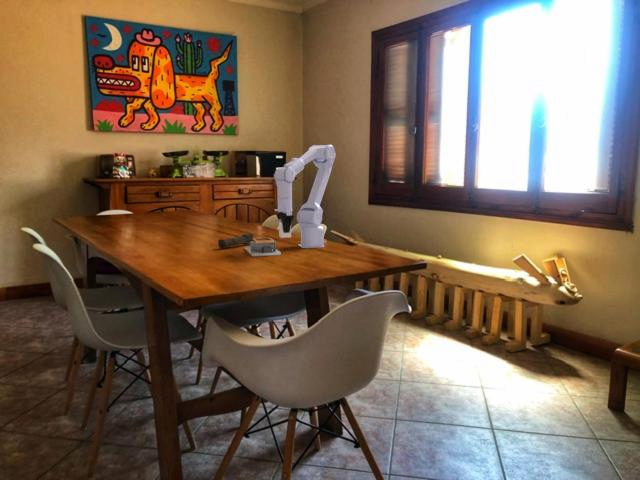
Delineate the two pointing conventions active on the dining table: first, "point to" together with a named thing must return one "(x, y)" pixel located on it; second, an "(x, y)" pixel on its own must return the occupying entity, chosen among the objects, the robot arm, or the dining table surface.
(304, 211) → the robot arm
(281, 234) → the block
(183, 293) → the dining table surface
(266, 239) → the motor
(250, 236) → the hand tool
